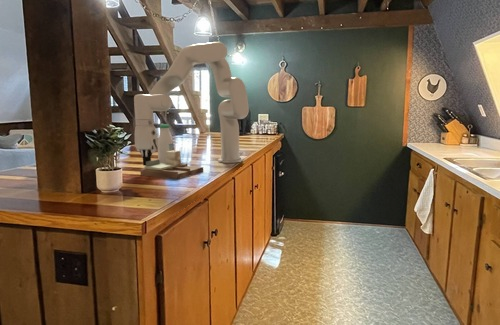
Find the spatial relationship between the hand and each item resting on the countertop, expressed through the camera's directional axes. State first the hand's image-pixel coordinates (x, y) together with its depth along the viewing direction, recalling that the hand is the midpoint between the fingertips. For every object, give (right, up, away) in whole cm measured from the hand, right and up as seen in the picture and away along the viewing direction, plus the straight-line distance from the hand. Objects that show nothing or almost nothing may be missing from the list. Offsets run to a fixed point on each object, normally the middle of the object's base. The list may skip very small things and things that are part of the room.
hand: (147, 165), depth 158 cm
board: (+11, -4, -1) cm, 12 cm away
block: (+11, -1, +4) cm, 12 cm away
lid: (+6, -1, -4) cm, 7 cm away
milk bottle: (+4, 0, +21) cm, 21 cm away
